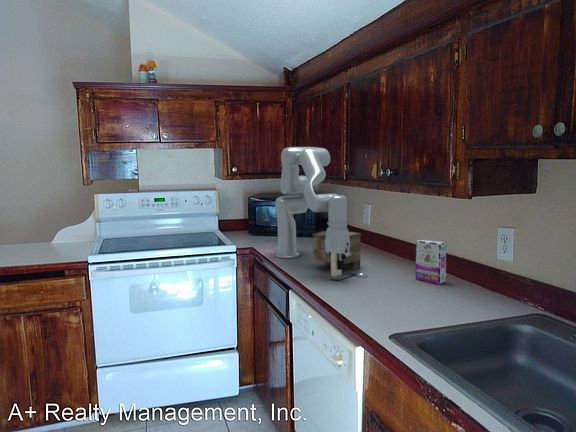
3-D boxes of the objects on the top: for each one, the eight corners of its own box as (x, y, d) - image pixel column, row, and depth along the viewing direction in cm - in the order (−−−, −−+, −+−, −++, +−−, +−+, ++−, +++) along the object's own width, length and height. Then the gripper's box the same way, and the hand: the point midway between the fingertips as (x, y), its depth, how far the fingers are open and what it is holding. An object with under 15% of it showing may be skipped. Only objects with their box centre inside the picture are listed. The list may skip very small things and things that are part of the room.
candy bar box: (446, 282, 172) (447, 242, 170) (439, 285, 168) (440, 243, 166) (421, 277, 180) (422, 238, 178) (414, 279, 177) (415, 240, 175)
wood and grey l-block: (329, 278, 180) (329, 251, 178) (353, 271, 191) (353, 246, 189) (337, 280, 177) (337, 253, 175) (360, 273, 188) (360, 247, 186)
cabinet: (311, 268, 199) (311, 234, 197) (333, 262, 210) (333, 229, 208) (339, 274, 187) (339, 238, 185) (361, 267, 198) (361, 233, 196)
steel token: (356, 278, 182) (356, 274, 182) (354, 274, 187) (354, 271, 187) (368, 277, 182) (368, 274, 181) (366, 274, 187) (366, 271, 186)
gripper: (317, 224, 181) (317, 267, 183) (347, 228, 169) (347, 273, 172) (328, 222, 186) (329, 264, 188) (359, 226, 174) (359, 270, 177)
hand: (338, 268), depth 180 cm, fingers closed on wood and grey l-block, 2 cm apart
